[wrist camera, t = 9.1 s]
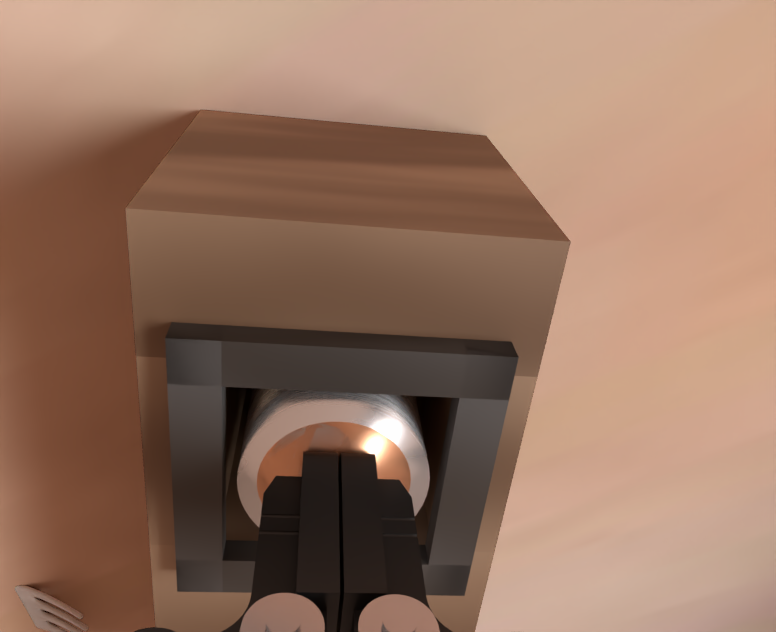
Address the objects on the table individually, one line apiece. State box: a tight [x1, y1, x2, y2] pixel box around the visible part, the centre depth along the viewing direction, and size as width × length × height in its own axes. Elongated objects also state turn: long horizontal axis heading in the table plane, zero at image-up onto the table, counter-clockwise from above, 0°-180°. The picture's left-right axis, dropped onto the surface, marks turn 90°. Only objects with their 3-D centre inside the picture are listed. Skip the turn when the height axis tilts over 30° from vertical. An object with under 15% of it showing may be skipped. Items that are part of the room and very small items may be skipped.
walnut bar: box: [125, 110, 570, 632], centre depth 21 cm, size 22×8×9 cm, turn 174°
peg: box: [237, 388, 430, 527], centre depth 18 cm, size 4×4×8 cm
